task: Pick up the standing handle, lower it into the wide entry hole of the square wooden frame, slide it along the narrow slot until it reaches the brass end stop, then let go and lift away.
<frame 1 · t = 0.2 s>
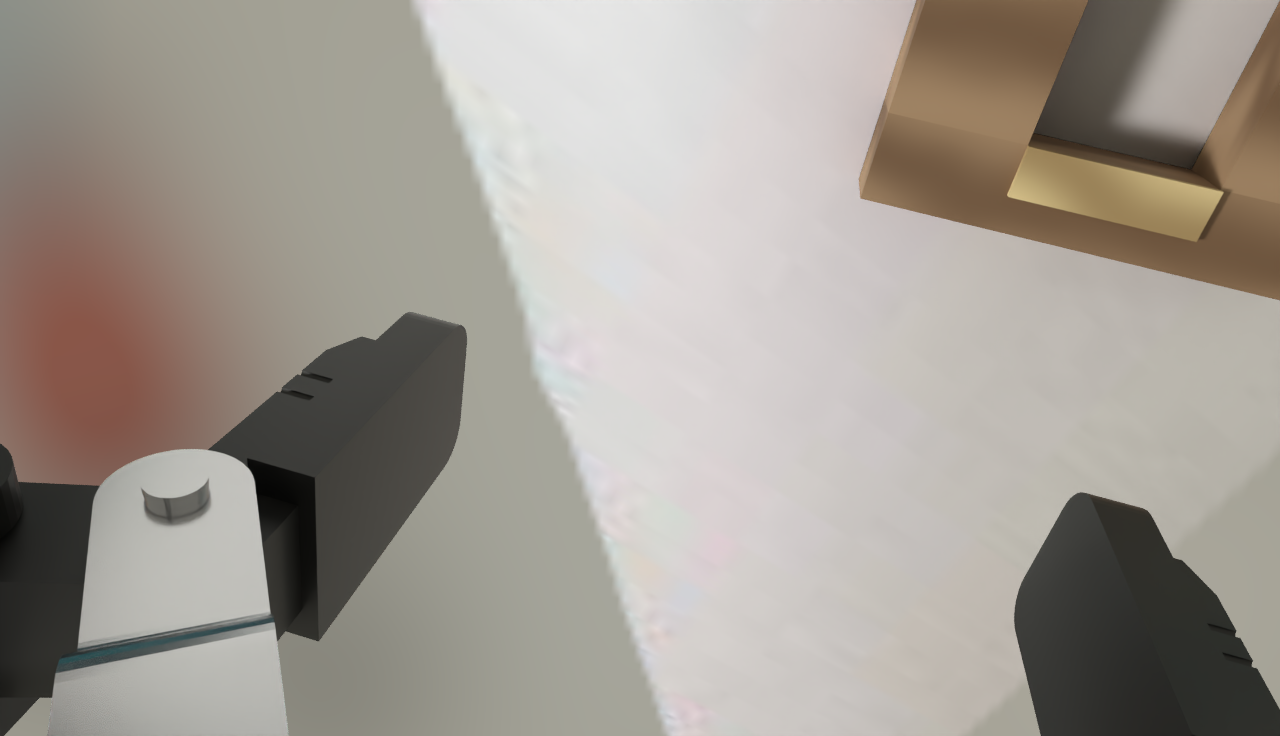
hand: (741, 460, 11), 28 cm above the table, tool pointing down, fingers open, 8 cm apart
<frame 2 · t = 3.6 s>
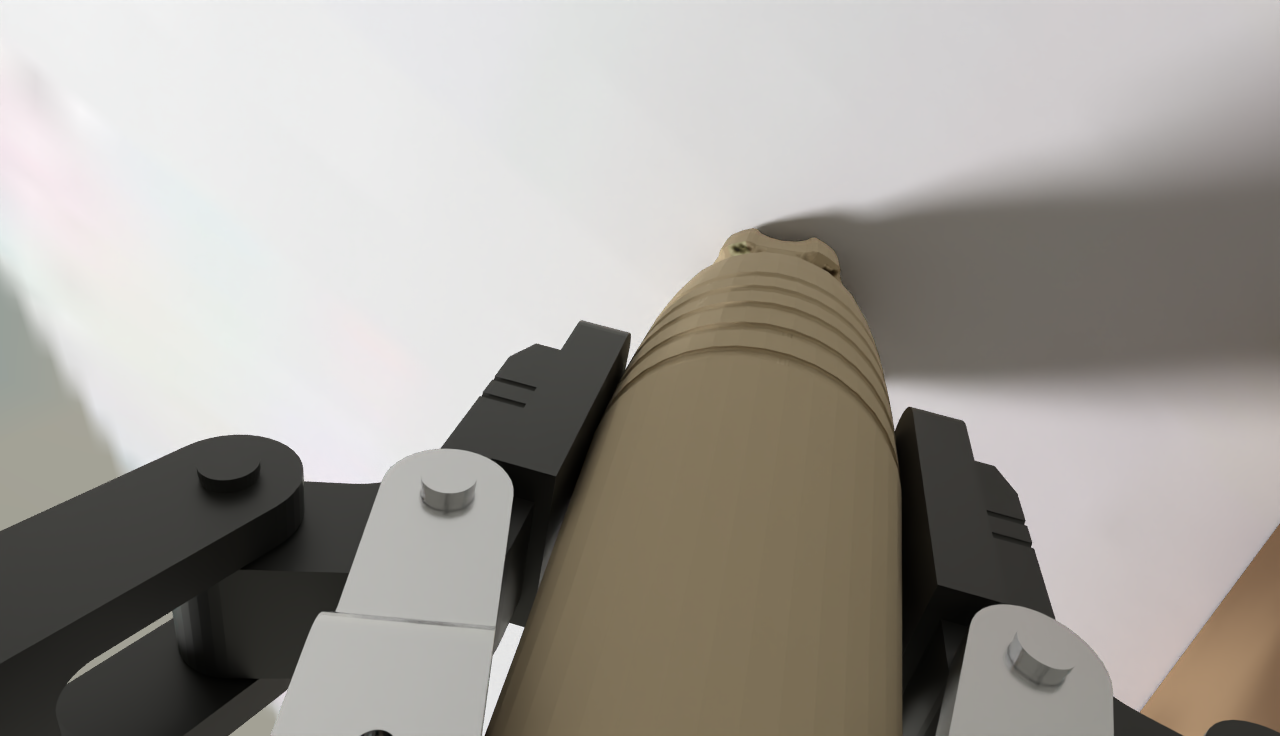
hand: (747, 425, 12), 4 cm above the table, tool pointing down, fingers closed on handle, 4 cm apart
handle: (772, 300, 16), on the table, touching gripper
when the fingers open (5 cm above the table, at t = 12.9 s): handle stays where it is, resting in square wooden frame.
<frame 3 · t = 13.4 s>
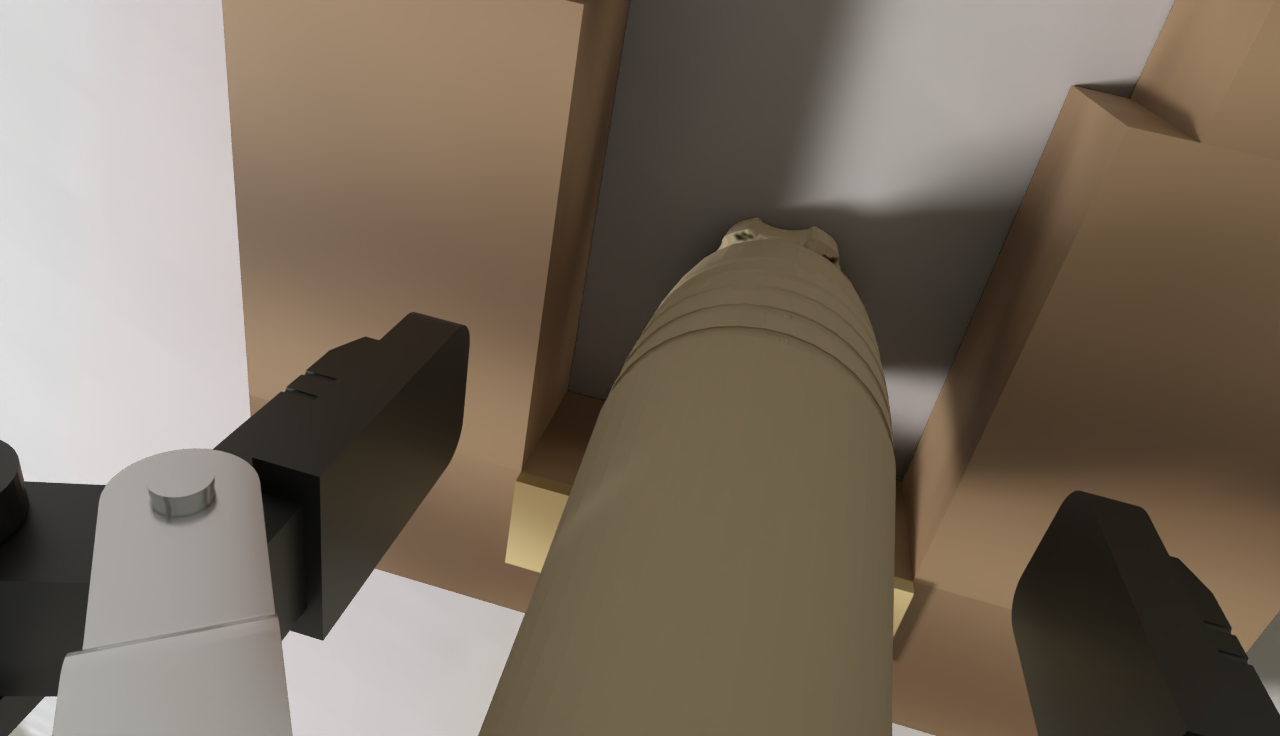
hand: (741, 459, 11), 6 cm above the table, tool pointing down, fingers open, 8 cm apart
square wooden frame: (837, 67, 14), on the table
handle: (773, 288, 16), resting in square wooden frame
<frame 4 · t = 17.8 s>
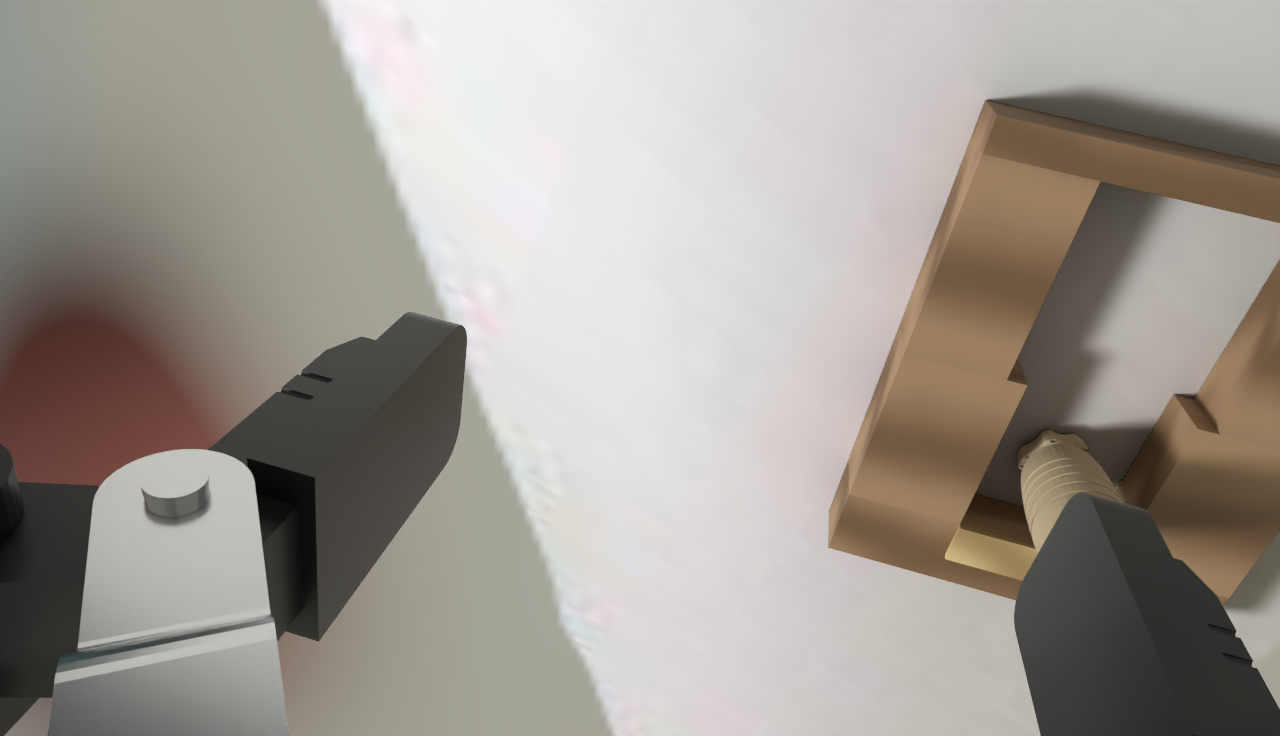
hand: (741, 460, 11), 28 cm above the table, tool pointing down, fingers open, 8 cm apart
square wooden frame: (1088, 383, 39), on the table
handle: (1050, 452, 41), resting in square wooden frame
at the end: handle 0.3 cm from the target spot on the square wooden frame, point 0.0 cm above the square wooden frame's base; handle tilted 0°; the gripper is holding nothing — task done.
